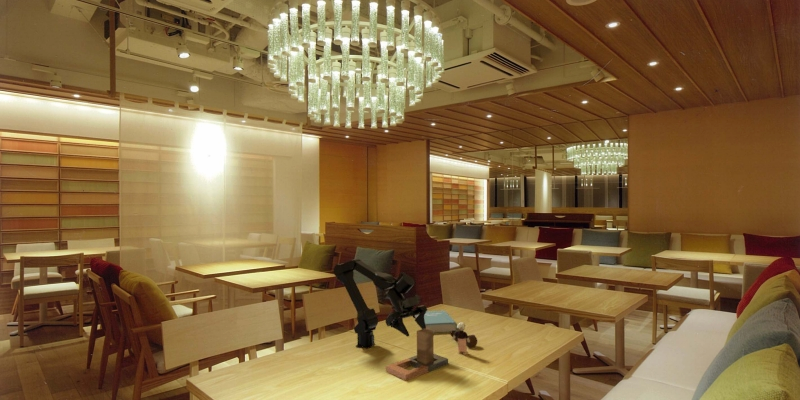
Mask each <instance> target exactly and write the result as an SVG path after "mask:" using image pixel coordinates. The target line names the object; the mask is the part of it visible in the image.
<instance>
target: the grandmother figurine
mask: <svg viewBox="0 0 800 400" xmlns="http://www.w3.org/2000/svg"><path fill="white" fill-rule="evenodd" d="M465 326H466V324H465V322H463V321H461V322H458V324H457V332H455V333H454V336H453V337H452V339H453V340H455V337H457V336H458V341H457V351H458V352H457V354H458V355H463V356H466V355H467V356H468V355H469V352H468V350H467V348H468V347H467V345H466V339H467V342H468V343H469V342H470V340H469V337H468V333H467V332H466V331H465ZM459 330H460V331H459ZM465 337H466V339H465Z"/></svg>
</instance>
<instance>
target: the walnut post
mask: <svg viewBox="0 0 800 400" xmlns="http://www.w3.org/2000/svg"><path fill="white" fill-rule="evenodd" d="M434 354H435V353H434V333H433V331H432V330H428V329H421V328H420V329H418V330H416V356H417V361H418V362H420V363H423V364H425V365H426V364H428V363H431V362H434Z"/></svg>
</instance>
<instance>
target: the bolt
mask: <svg viewBox="0 0 800 400" xmlns="http://www.w3.org/2000/svg"><path fill="white" fill-rule="evenodd" d="M457 331H460V330H459V329H458V330H457ZM457 331H452V332H450V336H451V337H452V338H453V336H454V333H455V332H457ZM467 335H468V334H467ZM468 337H469V340H470V342H469V343H468V342H467V339H466V337H465V339H466V348H469V349H472V348H475V347H476V346H477V344H478V338H477V336H476V335H475V334H469V335H468ZM454 340H455V341H456V342H458V336H457V337H455V339H454Z"/></svg>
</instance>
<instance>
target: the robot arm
mask: <svg viewBox="0 0 800 400" xmlns="http://www.w3.org/2000/svg"><path fill="white" fill-rule="evenodd" d="M354 271H356V272H358V273H360V274H361V275H363V276H364V277H366V278H368V279H369V280H371V282H372V283H373V285H374V286H375V287H376V288H377V289H378V290H380V291H384V294H383V299H389V301H390V303H391V304H392V307H391V308H392V310H393V312H390V313H388V316H387V317H386V318H385V324H386V326H387V327H390V328H393V329H395V330H397V331H398V332H399V333H401V334H403V335H404V336H406V337H408V338H409V337H410V332H409V331H408V329H407V327H406V325H405V324H404V320H403V319H406V318H411V317H412V318H413V319H414V321H415V323H416V324H417V325H418V326H419V327H420V330H421V329H426V325H425V320H424V315H425V313H426V311H428V308H427V306H426V305H423V304H422V305H419V304H420V302H421V301H422V300H421V297H420V296H419V294H414V295H412V296H411V297H405V296H404V295H403V294H407V293H408V292H409V291H410V290H411V289H412V287H413V286H414V285H415V280H414V278H413V276H412V277H411V276H410V275H409V274H406V272H401V273H400V274H399V276H398V278H396V277H394V276H393V275H391V274H389V273H386V272H381V271H378V270H376V268H374V267H371V266H370V265H369V264H367V263H365V262H364V261H362V260H361V259H359V258H354V259H350V260H349V261H347V262H344V263H337V264H336V265H335V266H334V268H333V274H334V276H335V277H336V279H337V280H338V281H339V282H340V283H342V284H343V286H344V288H345V290H346V292H347V294H348V296H349V298H350V300H351V302H352V304H353V307H354V308H355V310H356V313H357V315H356V317H357V318H356V320H357V324H356V325H355V326H354V328H353V331H354V333H355V334H357V344H356V345H355V347H356V348H362V349H370V348H371V347H373V346H374V345H375V343H376V342H375V334H374V331H375V330H377V329H376V327H377V326H378V324H379V323H378V322H379V318H378V316H379V315H377V313H376V310H375V308H369V307H368V306H367V303H366V301H365V300H364V298H363V295H362V293H361V292H360V290H359V288H358V285H357V283H356V282H355V279H354V278H355V276H354V274H355V273H354ZM386 290H387V291H386ZM418 305H419V306H418ZM415 306H416V307H415ZM414 308H415V309H414Z"/></svg>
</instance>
